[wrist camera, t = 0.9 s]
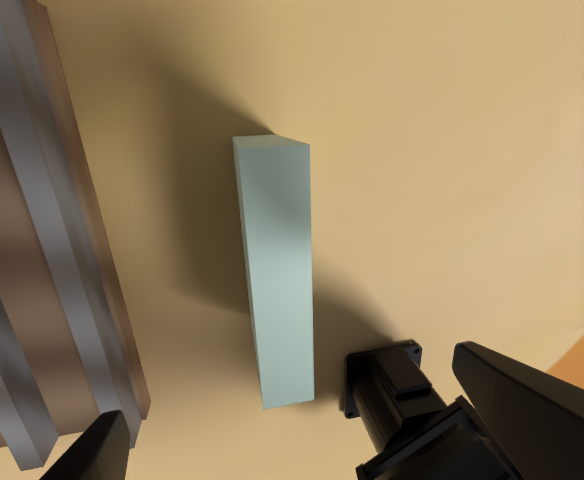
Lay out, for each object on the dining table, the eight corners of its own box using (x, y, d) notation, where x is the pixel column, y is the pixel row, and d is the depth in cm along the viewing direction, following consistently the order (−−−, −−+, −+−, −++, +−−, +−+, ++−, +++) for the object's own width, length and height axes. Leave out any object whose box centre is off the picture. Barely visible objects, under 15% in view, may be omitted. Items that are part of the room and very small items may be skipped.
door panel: (285, 309, 23) (314, 399, 16) (250, 315, 23) (263, 409, 15) (275, 134, 19) (309, 144, 11) (232, 136, 18) (238, 148, 11)
